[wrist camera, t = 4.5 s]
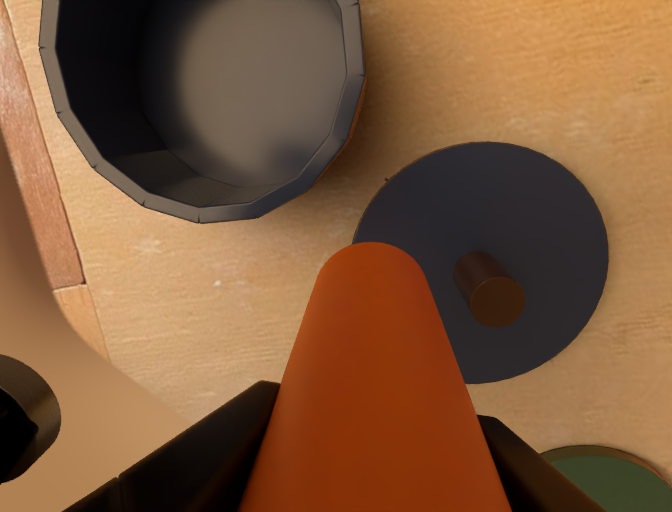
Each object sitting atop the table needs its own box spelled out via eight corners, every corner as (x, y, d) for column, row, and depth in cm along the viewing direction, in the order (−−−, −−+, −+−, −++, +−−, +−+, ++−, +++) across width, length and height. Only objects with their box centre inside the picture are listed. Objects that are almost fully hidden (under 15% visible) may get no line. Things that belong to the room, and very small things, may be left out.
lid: (474, 412, 23) (499, 480, 19) (302, 278, 22) (285, 318, 17) (650, 250, 20) (731, 286, 16) (465, 84, 19) (495, 71, 14)
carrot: (379, 368, 15) (411, 1172, 3) (291, 304, 14) (0, 978, 3) (453, 289, 14) (835, 1038, 2) (361, 217, 13) (320, 731, 2)
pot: (270, 241, 21) (238, 280, 16) (87, 98, 20) (-14, 89, 15) (415, 57, 18) (434, 30, 13) (214, -121, 17) (147, -230, 12)
